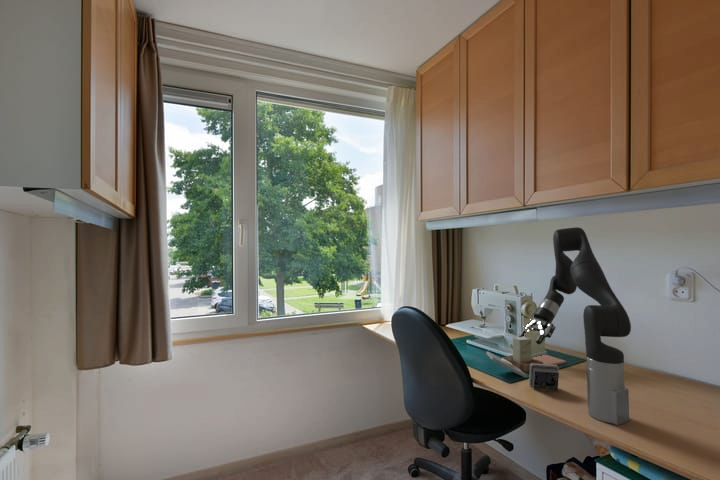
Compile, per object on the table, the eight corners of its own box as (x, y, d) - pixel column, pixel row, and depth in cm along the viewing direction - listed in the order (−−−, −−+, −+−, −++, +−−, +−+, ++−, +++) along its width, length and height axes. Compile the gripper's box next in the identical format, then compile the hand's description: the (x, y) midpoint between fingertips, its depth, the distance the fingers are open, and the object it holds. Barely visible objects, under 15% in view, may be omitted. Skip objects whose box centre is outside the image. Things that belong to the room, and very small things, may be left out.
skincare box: (520, 369, 141) (519, 340, 141) (512, 365, 145) (511, 337, 145) (532, 367, 143) (531, 338, 143) (524, 364, 147) (523, 336, 147)
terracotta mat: (566, 362, 148) (566, 361, 148) (547, 367, 143) (547, 365, 143) (541, 355, 159) (541, 353, 159) (523, 358, 154) (523, 357, 154)
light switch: (528, 374, 131) (494, 355, 133) (521, 387, 132) (487, 368, 133) (520, 366, 140) (488, 349, 141) (513, 378, 140) (481, 361, 141)
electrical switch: (557, 387, 122) (557, 363, 122) (561, 395, 117) (561, 369, 117) (528, 385, 125) (528, 361, 124) (532, 392, 120) (531, 367, 119)
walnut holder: (543, 369, 141) (542, 362, 141) (526, 373, 137) (525, 365, 137) (519, 360, 152) (518, 353, 152) (502, 364, 147) (502, 357, 148)
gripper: (528, 304, 156) (510, 331, 151) (557, 308, 143) (538, 339, 138) (536, 314, 158) (519, 342, 153) (565, 320, 145) (548, 350, 140)
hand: (528, 340), depth 146 cm, fingers open, 8 cm apart
